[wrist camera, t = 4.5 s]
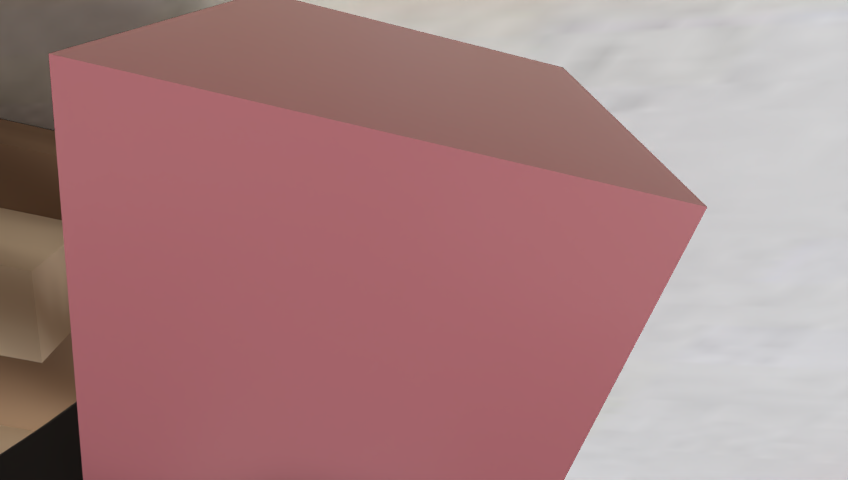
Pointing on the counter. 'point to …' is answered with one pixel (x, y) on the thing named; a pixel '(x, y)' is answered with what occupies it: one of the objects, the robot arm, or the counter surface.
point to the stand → (32, 286)
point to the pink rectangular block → (346, 250)
